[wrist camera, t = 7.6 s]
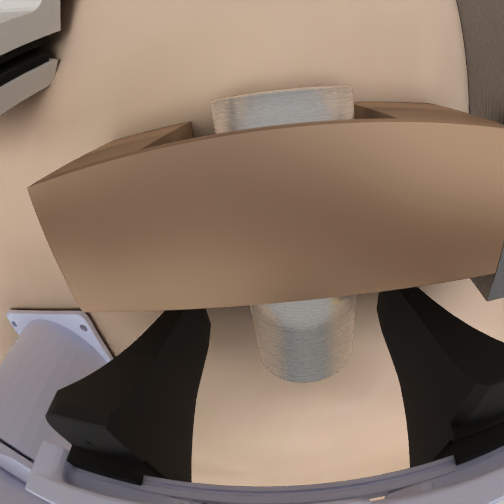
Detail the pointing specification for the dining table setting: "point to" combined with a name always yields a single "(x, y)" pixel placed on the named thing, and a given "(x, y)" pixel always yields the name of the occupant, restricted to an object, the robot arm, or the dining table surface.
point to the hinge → (26, 48)
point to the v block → (485, 89)
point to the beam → (278, 210)
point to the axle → (309, 311)
